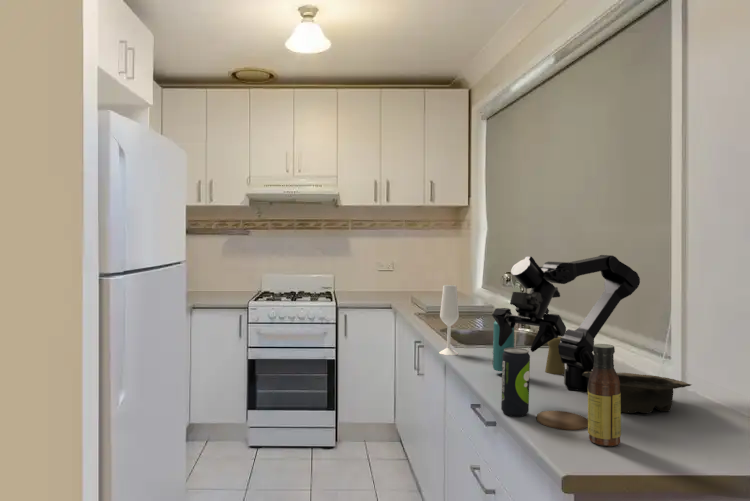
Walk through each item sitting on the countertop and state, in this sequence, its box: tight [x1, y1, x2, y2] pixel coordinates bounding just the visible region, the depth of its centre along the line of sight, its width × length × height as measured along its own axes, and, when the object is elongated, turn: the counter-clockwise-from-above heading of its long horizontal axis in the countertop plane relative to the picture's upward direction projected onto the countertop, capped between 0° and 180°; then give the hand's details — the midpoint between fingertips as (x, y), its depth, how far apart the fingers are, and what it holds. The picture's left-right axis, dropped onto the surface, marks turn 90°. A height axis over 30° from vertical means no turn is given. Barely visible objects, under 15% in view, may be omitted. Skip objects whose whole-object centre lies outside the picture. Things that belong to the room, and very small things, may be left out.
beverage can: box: [500, 347, 531, 418], centre depth 134 cm, size 6×6×15 cm
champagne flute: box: [438, 284, 460, 356], centre depth 202 cm, size 7×7×24 cm
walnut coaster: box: [536, 410, 588, 431], centre depth 128 cm, size 11×11×1 cm
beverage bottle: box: [492, 307, 515, 372], centre depth 172 cm, size 6×7×20 cm
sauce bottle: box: [587, 343, 622, 447], centre depth 116 cm, size 6×6×20 cm
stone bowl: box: [582, 371, 693, 414], centre depth 143 cm, size 25×25×9 cm
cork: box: [545, 336, 566, 375], centre depth 176 cm, size 6×6×11 cm
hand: (515, 348), depth 143 cm, fingers open, 9 cm apart
